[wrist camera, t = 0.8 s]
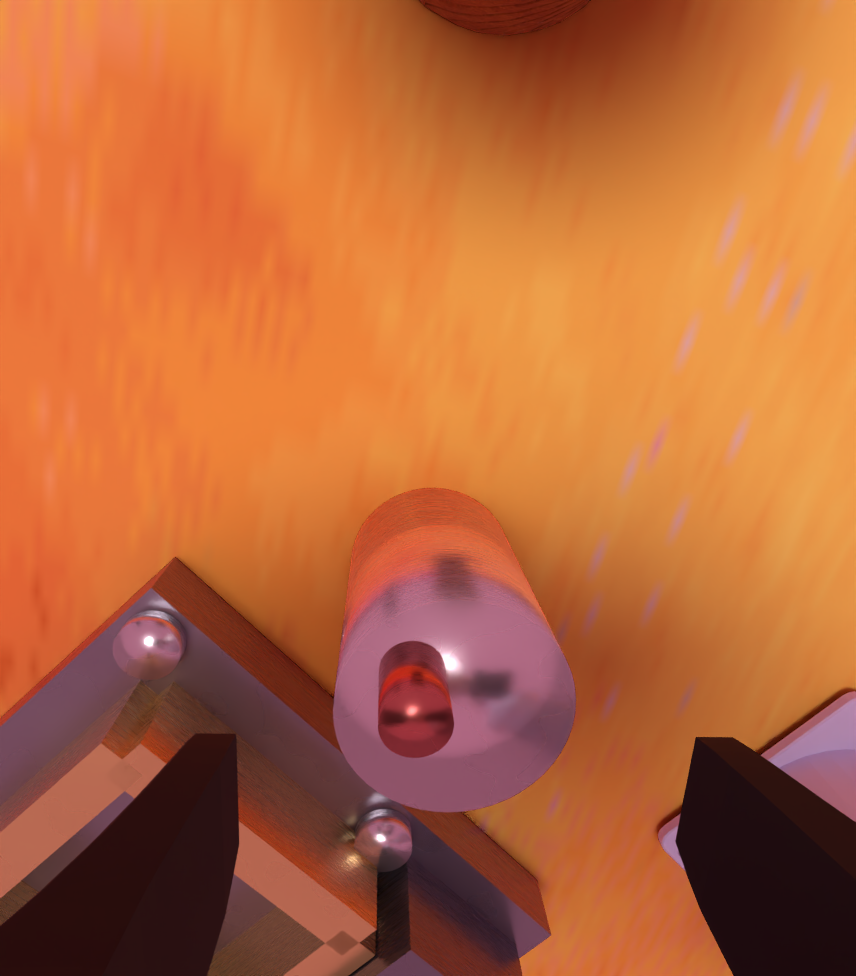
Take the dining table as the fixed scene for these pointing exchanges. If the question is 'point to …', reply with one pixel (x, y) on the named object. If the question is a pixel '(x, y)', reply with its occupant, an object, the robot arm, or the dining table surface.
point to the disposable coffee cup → (504, 14)
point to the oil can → (446, 659)
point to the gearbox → (253, 802)
